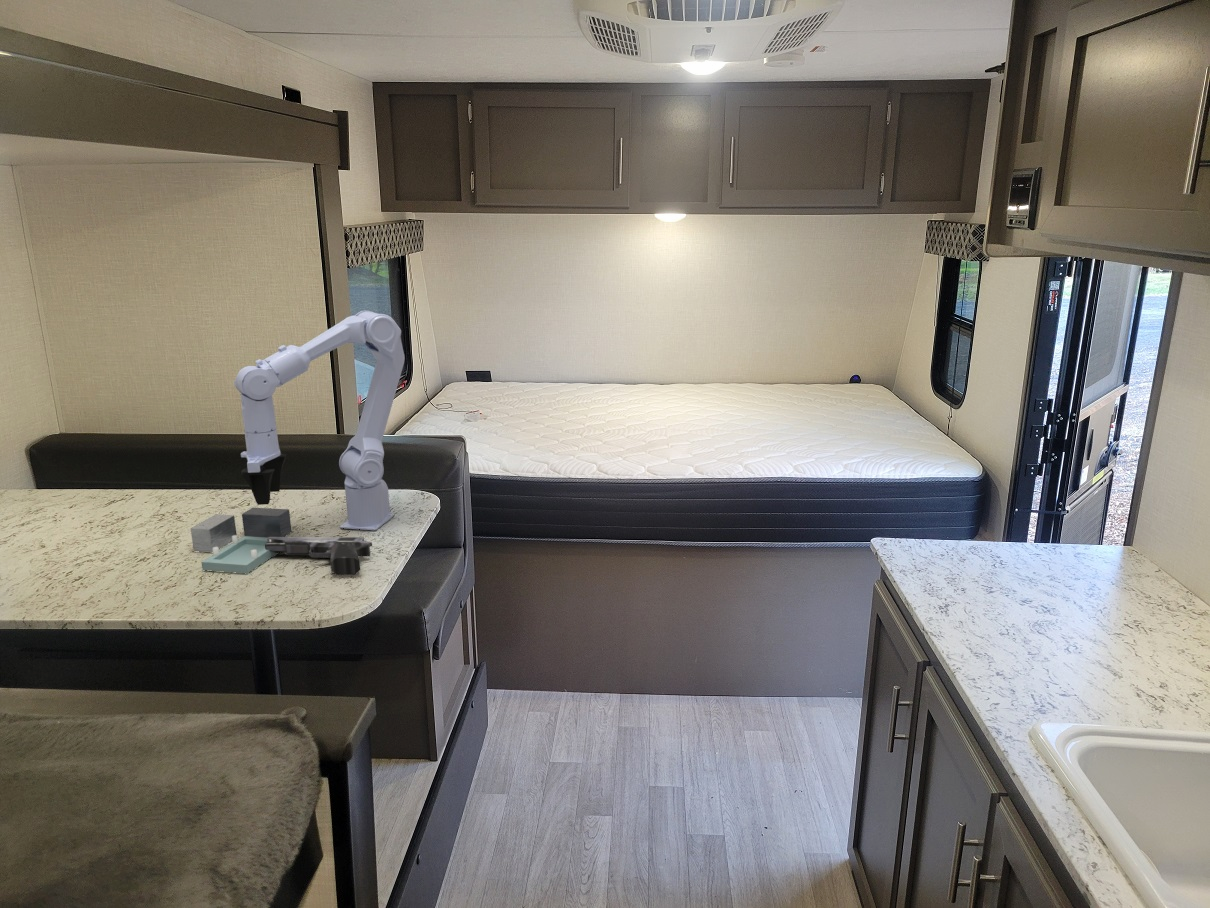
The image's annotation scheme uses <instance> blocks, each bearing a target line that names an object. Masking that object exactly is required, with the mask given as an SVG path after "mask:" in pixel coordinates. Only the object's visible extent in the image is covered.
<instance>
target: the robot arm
mask: <svg viewBox="0 0 1210 908" xmlns="http://www.w3.org/2000/svg"><path fill="white" fill-rule="evenodd" d="M401 335H402V330H401V328H400V327H399V325H398V324H397V323H396V321H395V319H394V318H393V317H391V316H390V315H388V314H384V313H377V312H374V311H372V310H361V311H359V312H357V313H356V314H355V315H350V316H347V317H345V319H343V320H341V321H340V322H338V323H337V324H335V325H333V326H332V327H330V328H328V329H327V330H325V331H324V332H322V333H321V334H319V335H317V336H315V337H314V338H312V339H311V340H309V341H308V342H305V344H302V345H300V346H297V345H294V344H289V345H287V346H286V345H284V344H282V345H281V346H278V348H277V350H278V351H277V352H275V353H273V354H271V355H269V356H267V357H266V358H264V359H261V358H259V359H257V360H255V364H256V365H246V366H244V367H242V368H241V369H240V370H239V371H238V373H237V374H236V377H235V380H234V387H235V389H236V390H237V391H238V392H239V393H240V395H239V396H240V402H241V408H240V409H241V415H242V416H241V417H242V423H243V430H244V439H245V440H244V441H245V446H246V447H245V449H246V451H242V452H241V453H240V457H241V458H246V460H247V462H246V466H247V467H246V468H243V469H242V470H241V471H240V472H241V477H242V478H243V479H244V480H245V481H246V482H247V485H248V487H249V488H250V490H251V492H252V495H253V498H254V500H255V502H256V504H257V505H258V506H261V505H262V506H263V505H270V502H271V493H273V492H274V493H275V492H276V493H278V492H280V491H281V484H282V474H283V468H284V465H285V462H286V460H287V454H286V453H282V452H281V449H280V445H279V444H280V443H279V438H278V430H277V429H278V428H277V421H276V410H275V405H274V400H273V399H274V398H273V395H274V393H275V391H276V388H280V387H281V386H283V385H285V384H287V383H289V382H290V381H292V380H294V379H296V378H297V377H298V376H301V375H303V374H305V372H307V371H308V370H309V368H310V363H311V362H312V361H314V360H316V359H319V357H322V356H324V355H325V354H328V353H330V352H331V351H334V350H336V349H337V348H339V347H341V346H343V345H346V344H363V345H364V346H365V347H367V348H368V350H369V352H370V353H371V355H372V356H373V357H374V359H375V361H376V362H375V367H374V370H373V373H372V377H371V381H370V384H369V388H368V390H367V394H366V398H365V401H364V405H363V408H362V411H361V416H360V419H359V422H358V427H357V429H356V433H355V435H354V436H353V437H352V438H351V439H350V440H349V441H348V444H347V448H346V449H345V450H344V452H342V453H341V455H340V457H339V461H338V466H339V469H340V471H341V472H342V473H343V474H344V475H345V479H344V491H345V492H344V493H345V502H346V513H347V514H346V515H347V520H346V521H345V522H344V523H343V524H341V525H340V526H339V528H340V529H343V528H344V529H345V530H359V529H360V530H361V531H378V529H379V528H381V527H382V526H383V525H385V523H387V522H388V521H390V520H391V519H392V518H393V517H394V516H395V513H393V512H391V509H390V496H389V495H390V494H389V487H388V485H387V483H386V481H385V480H384V479H383V477H384V476H383V475H384V474H385V473H384V472H385V471H384V470H385V469H384V463H383V462H384V461H383V460H384V456H385V451H384V446H383V439H384V435H385V430H386V427H387V424H388V420H389V417H390V414H391V409H392V406H393V403H394V401H395V400H394V399H395V396H396V392H397V389H398V386H399V382H400V379H401V374H402V371H403V369H404V364H405V353H404V349H403V343H402V338H401Z"/></svg>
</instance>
